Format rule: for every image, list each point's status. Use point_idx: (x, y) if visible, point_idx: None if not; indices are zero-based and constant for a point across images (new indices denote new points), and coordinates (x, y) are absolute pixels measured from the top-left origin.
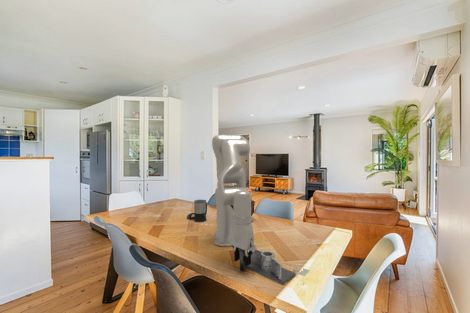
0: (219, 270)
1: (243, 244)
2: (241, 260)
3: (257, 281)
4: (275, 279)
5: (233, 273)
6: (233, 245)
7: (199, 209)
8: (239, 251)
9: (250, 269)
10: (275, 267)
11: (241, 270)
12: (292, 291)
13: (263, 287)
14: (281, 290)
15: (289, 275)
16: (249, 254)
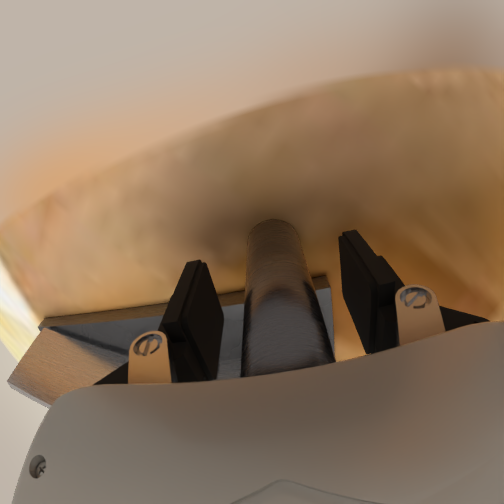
0: (383, 88)
1: (70, 476)
2: (260, 272)
3: (92, 241)
4: (67, 321)
5: (272, 151)
6: (437, 339)
7: None
8: (311, 336)
9: (241, 292)
10: (58, 372)
11: (258, 226)
12: (10, 309)
13: (39, 232)
14: (15, 284)
15: None
16: (126, 370)
